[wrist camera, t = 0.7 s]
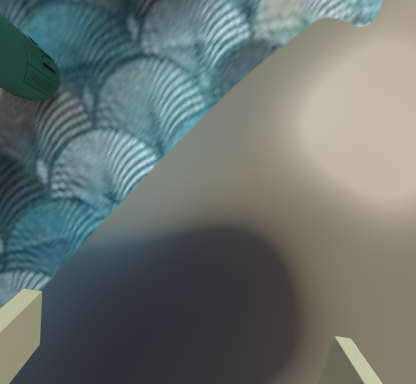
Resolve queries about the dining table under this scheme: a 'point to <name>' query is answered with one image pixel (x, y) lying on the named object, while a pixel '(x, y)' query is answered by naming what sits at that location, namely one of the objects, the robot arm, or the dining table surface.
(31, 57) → the beverage bottle
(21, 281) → the dining table surface
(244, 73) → the dining table surface
